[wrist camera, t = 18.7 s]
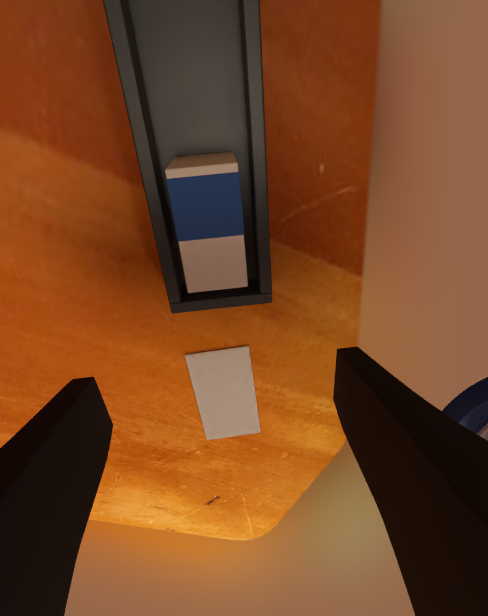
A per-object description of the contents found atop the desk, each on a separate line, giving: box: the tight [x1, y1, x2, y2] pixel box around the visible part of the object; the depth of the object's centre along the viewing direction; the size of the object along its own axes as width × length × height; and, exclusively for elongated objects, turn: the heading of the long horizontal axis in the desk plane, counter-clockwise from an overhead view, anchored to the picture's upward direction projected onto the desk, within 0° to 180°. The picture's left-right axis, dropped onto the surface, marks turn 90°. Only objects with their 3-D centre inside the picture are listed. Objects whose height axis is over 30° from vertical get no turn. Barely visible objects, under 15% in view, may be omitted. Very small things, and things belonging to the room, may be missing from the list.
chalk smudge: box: [185, 346, 260, 440], centre depth 23 cm, size 8×4×1 cm, turn 7°
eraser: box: [165, 152, 248, 293], centre depth 15 cm, size 5×3×4 cm, turn 4°
